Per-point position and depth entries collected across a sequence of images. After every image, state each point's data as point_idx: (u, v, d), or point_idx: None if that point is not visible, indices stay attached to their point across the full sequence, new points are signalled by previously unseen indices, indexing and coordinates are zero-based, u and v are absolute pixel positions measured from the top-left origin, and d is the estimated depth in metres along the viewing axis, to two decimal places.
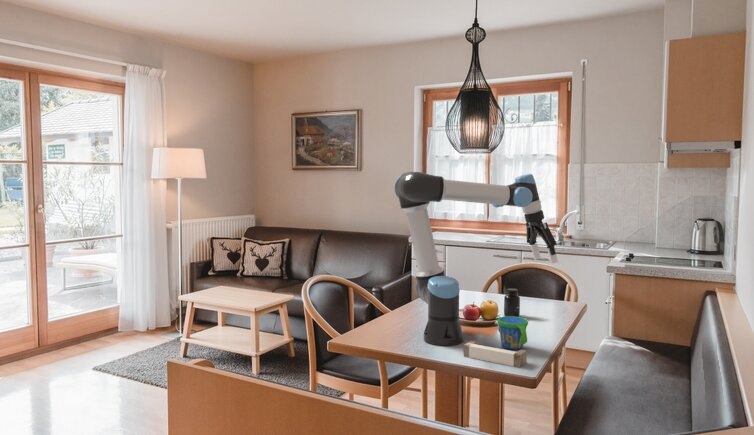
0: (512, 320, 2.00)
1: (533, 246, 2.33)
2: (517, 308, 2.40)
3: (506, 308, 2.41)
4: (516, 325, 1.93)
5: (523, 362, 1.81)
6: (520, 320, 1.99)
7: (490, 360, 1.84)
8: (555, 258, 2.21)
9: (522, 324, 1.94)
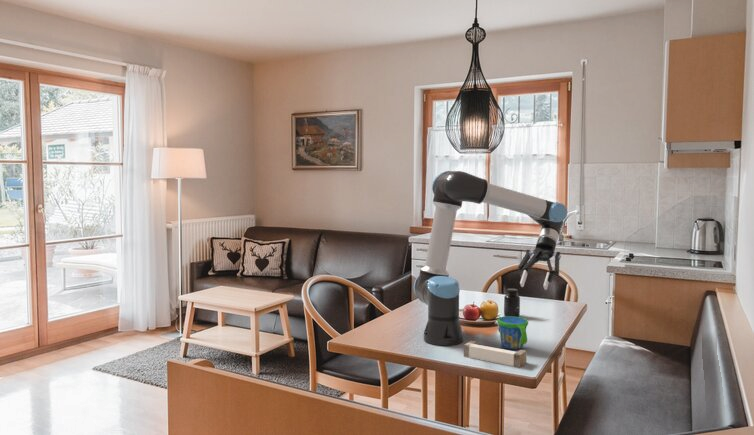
0: (512, 320, 2.00)
1: (525, 272, 2.20)
2: (517, 308, 2.40)
3: (506, 308, 2.41)
4: (516, 325, 1.93)
5: (523, 362, 1.81)
6: (520, 320, 1.99)
7: (490, 360, 1.84)
8: (547, 285, 2.13)
9: (522, 324, 1.94)
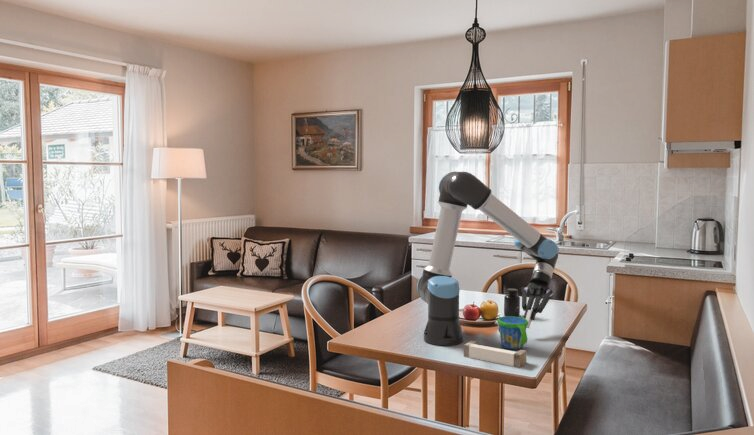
0: (512, 320, 2.00)
1: None
2: (517, 308, 2.40)
3: (506, 308, 2.41)
4: (516, 325, 1.93)
5: (523, 362, 1.81)
6: (520, 320, 1.99)
7: (490, 360, 1.84)
8: (529, 324, 2.11)
9: (522, 324, 1.94)
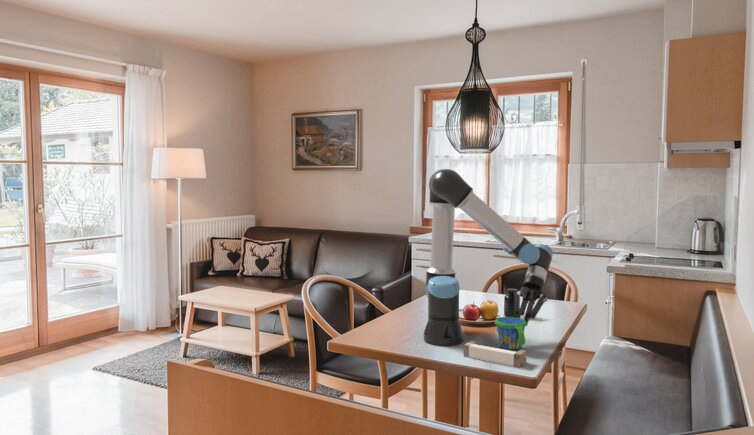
0: (510, 321, 1.99)
1: None
2: None
3: (506, 308, 2.41)
4: (514, 326, 1.92)
5: (523, 362, 1.81)
6: (518, 321, 1.98)
7: (490, 360, 1.84)
8: None
9: (520, 325, 1.93)
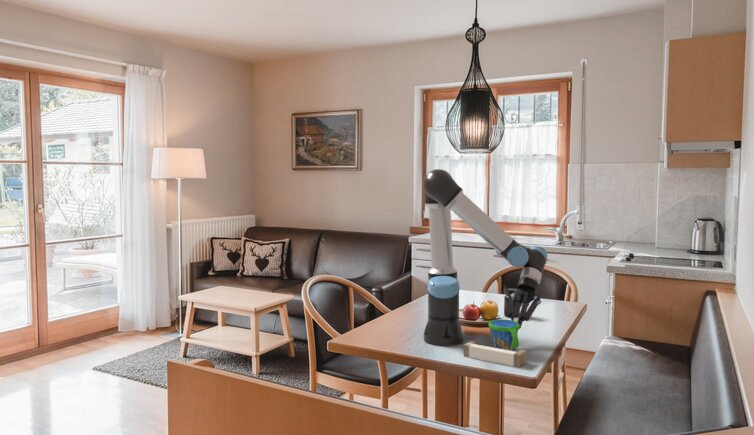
0: (503, 324, 1.95)
1: (516, 320, 2.01)
2: None
3: (506, 308, 2.41)
4: (507, 329, 1.89)
5: (523, 362, 1.81)
6: (512, 323, 1.95)
7: (490, 360, 1.84)
8: None
9: (513, 328, 1.89)
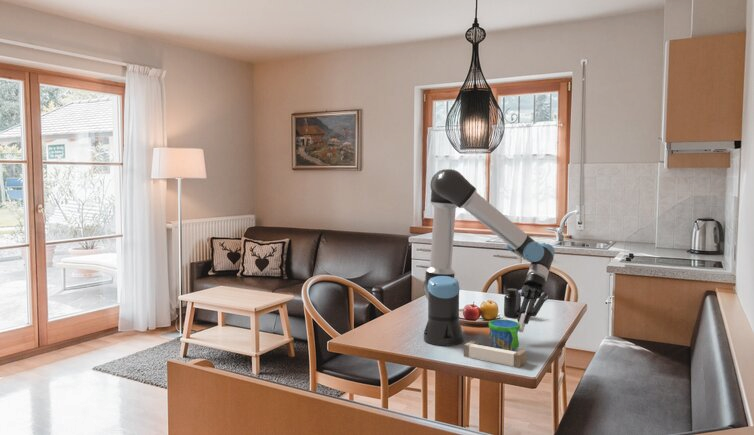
0: (503, 324, 1.96)
1: None
2: None
3: (506, 308, 2.41)
4: (507, 329, 1.89)
5: (523, 362, 1.81)
6: (512, 323, 1.95)
7: (490, 360, 1.84)
8: (523, 328, 2.05)
9: (513, 328, 1.89)
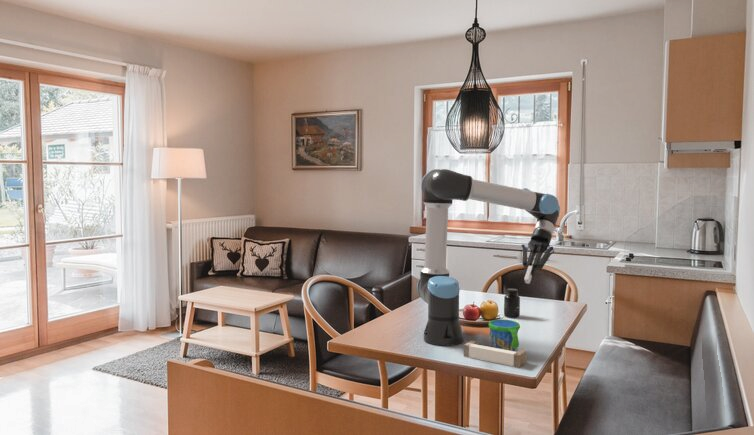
0: (503, 324, 1.96)
1: None
2: (517, 308, 2.40)
3: (506, 308, 2.41)
4: (507, 329, 1.89)
5: (523, 362, 1.81)
6: (512, 323, 1.95)
7: (490, 360, 1.84)
8: (530, 279, 2.10)
9: (513, 328, 1.89)
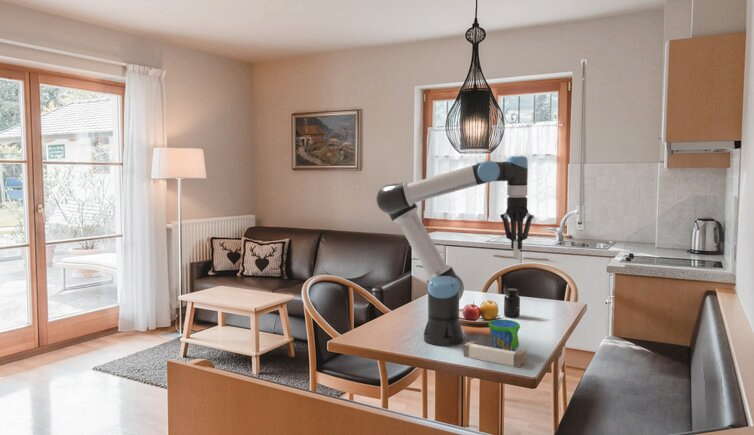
0: (503, 324, 1.96)
1: None
2: (517, 308, 2.40)
3: (506, 308, 2.41)
4: (507, 329, 1.89)
5: (523, 362, 1.81)
6: (512, 323, 1.95)
7: (490, 360, 1.84)
8: (519, 253, 2.13)
9: (513, 328, 1.89)
